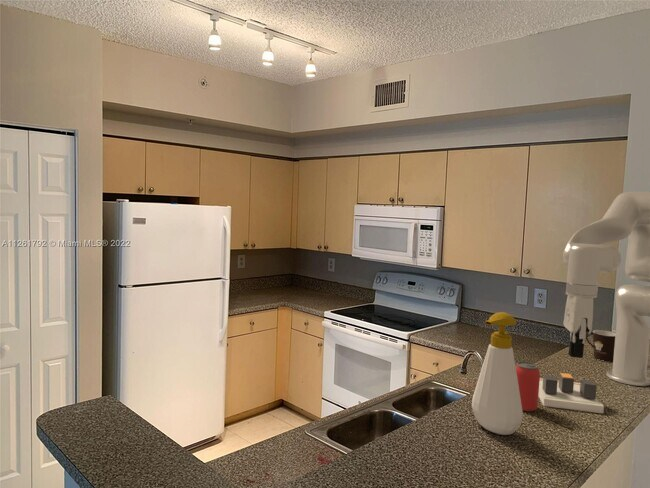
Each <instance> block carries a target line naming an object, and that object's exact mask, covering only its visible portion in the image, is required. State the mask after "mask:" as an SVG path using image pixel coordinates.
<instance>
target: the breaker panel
mask: <svg viewBox="0 0 650 488" xmlns="http://www.w3.org/2000/svg"><path fill="white" fill-rule="evenodd" d="M558 386H559V379H557V378H556V376H555V375H548V374H543V376H542V378H541V377H540V382H539V395H538V399H539V400H540V402H541V404H542V406H544V407H548V408H549V407H550V408H557V409H565V410H572V411H573V410H574V411H580V412H589V413H597V414H604V411H605V410H604V409H605V406H604V404H603V403H602V402H601V401H600V400H599V399H598V397H597V395H596V394H597V383H595V382H594V380H592V379H591V380H590V379H580V382H575V381H574V387H573V393H569V392H562V391H561V390H560V388H559V387H558Z"/></svg>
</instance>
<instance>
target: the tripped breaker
mask: <svg viewBox="0 0 650 488" xmlns="http://www.w3.org/2000/svg"><path fill="white" fill-rule="evenodd" d="M558 375H559V376H558V380H559V386H558V387H559V388H560V390H561V391H562V392H569V393H573V387H574V382H575V378H574V377H573V376H572V375H571V373H565V372H564V373H562V372H560V373H559V374H558Z"/></svg>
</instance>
